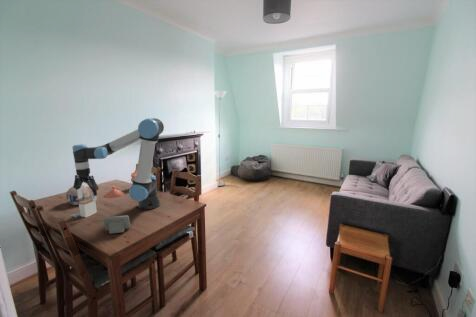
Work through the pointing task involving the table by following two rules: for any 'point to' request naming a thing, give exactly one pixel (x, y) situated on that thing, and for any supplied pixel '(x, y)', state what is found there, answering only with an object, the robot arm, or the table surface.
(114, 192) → the ceramic vessels
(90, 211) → the cream block
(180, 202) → the table surface
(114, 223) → the digital clock
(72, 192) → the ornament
